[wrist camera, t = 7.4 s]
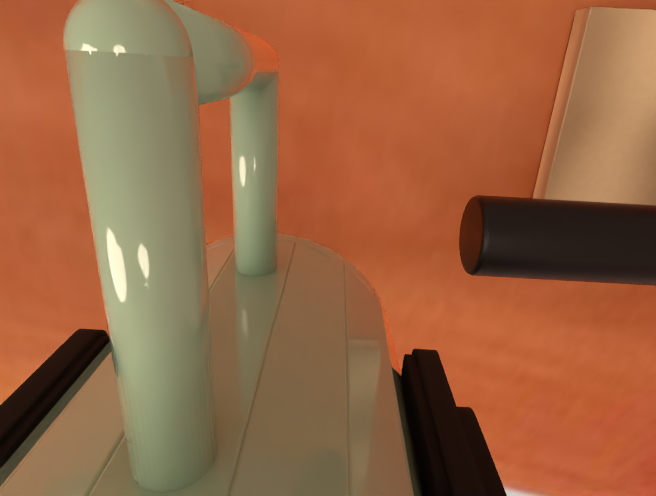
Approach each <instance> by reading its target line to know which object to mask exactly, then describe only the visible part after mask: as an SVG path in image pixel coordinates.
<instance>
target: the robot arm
mask: <svg viewBox="0 0 656 496" xmlns="http://www.w3.org/2000/svg"><path fill="white" fill-rule="evenodd" d="M108 343H109V336H108V335H107V333H106V331H104V330H93V329H79V330H77V331H76V332H75V333H74V334H73V335H72V336H71V337H70V338H69V339H68V340H67V341H66V342H65V343H64V344H62V345H61V346H60V347H59V348H58V349H57V350H56V351H55V352H54V353H53V354H52V355H51V356H50V357H49V358H48V359H47V360H46V361H45V362H44V363H43V364H42V365H41V366H40V367H39V368H38V369H37V370H36V371H35V372H34V373H33V374H32V375H31V376H30V377H29V378H28V379H27V380H26V381H25V382H24V383H23V384H22V385H21V386H20V387H19V388H18V389H17V390H16V391H15V392H14V393H13V394H12V395H11V396H10V397H9V398H8V399H7V400H6V401H4V402H3V403H2V404H1V405H0V469H1V468H2V467H3V466H4V464H5V463H6V462H7V461H8V460H9V458H10V457H11V456H12V455H13V454H14V453H15V451H16V450H17V449H18V448H19V447H20V446H21V444H22V443H23V442H24V441H25V440H26V439H27V437H28V436H29V435H30V434H31V433H32V432H33V430H34V429H35V428H36V427H37V426H38V425H39V423H40V422H41V421H42V420H43V419H44V418H45V416H46V415H47V414H48V413H49V412H50V411H51V409H52V408H53V407H54V406H55V405H56V403H57V402H58V401H59V400H60V399H61V398H62V396H63V395H64V394H65V393H66V392H67V391H68V389H69V388H70V387H71V386H72V385H73V384H74V382H75V381H76V380H77V379H78V378H79V377H80V375H81V374H82V373H83V372H84V371H85V370H86V368H87V367H88V366H89V365H90V364H91V363H92V361H93V360H94V359H95V358H96V357H97V356H98V354H99V353H100V352H101V351H102V350H103V348H104V347H105V346H106V345H107V344H108ZM401 378H402V383H403V388H404V393H405V398H406V403H407V408H408V413H409V418H410V423H411V428H412V433H413V438H414V443H415V448H416V453H417V458H418V464H419V469H420V474H421V479H422V484H423V489H424V494H425V496H507V495H506V493H505V490H504V488H503V485H502V482H501V480H500V477H499V475H498V472H497V470H496V467H495V464H494V462H493V459H492V457H491V454H490V452H489V449H488V447H487V444H486V441H485V439H484V436H483V434H482V431H481V429H480V426H479V423H478V421H477V418H476V416H475V414H474V412H473V410H472V409H471V408H470V407H456V404H455V401H454V398H453V395H452V392H451V389H450V386H449V384H448V381H447V378H446V375H445V372H444V369H443V366H442V363H441V360H440V357H439V354H438V352H437V351H436V350H424V349H413V351H412V355H409V354H405V356H404V360H403V367H402V374H401Z"/></svg>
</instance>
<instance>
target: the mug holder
mask: <svg viewBox="0 0 656 496" xmlns="http://www.w3.org/2000/svg"><path fill="white" fill-rule="evenodd" d="M459 247H460V256H461V261H462V265H463V267H464V269H465V271H466V272H467V273H468V274H470V275H475V276H493V277H511V278H529V279H547V280H565V281H583V282H601V283H619V284H637V285H655V286H656V10H653V9H634V8H615V7H596V6H591V7H587V8H583V9H579V10H576V13H575V17H574V21H573V25H572V30H571V34H570V38H569V43H568V47H567V51H566V56H565V60H564V64H563V69H562V73H561V77H560V81H559V86H558V90H557V94H556V99H555V103H554V107H553V112H552V116H551V120H550V125H549V129H548V133H547V137H546V142H545V146H544V150H543V155H542V159H541V163H540V168H539V172H538V176H537V181H536V185H535V189H534V193H533V198H517V197H499V196H480V195H478V196H475V197H472V198H471V199H470V200H469V202H468V203H467V205H466V208H465V210H464V213H463V217H462V221H461V227H460V237H459Z"/></svg>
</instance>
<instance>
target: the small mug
mask: <svg viewBox="0 0 656 496" xmlns="http://www.w3.org/2000/svg"><path fill="white" fill-rule="evenodd" d="M63 51H64V58H65V64H66V70H67V76H68V83H69V89H70V95H71V102H72V108H73V114H74V120H75V127H76V133H77V139H78V146H79V152H80V158H81V165H82V171H83V177H84V183H85V190H86V196H87V202H88V209H89V215H90V221H91V227H92V234H93V240H94V246H95V253H96V259H97V265H98V272H99V278H100V284H101V290H102V297H103V303H104V309H105V316H106V322H107V328H108V334H109V343H108V344H107V345H106V346H105V347H104V348H103V350H102V351H101V352H100V353H99V354H98V356H97V357H96V358H95V359H94V360H93V361H92V363H91V364H90V365H89V366H88V367H87V368H86V370H85V371H84V372H83V373H82V374H81V375H80V377H79V378H78V379H77V380H76V381H75V382H74V384H73V385H72V386H71V387H70V388H69V389H68V391H67V392H66V393H65V394H64V395H63V396H62V398H61V399H60V400H59V401H58V402H57V403H56V405H55V406H54V407H53V408H52V409H51V411H50V412H49V413H48V414H47V415H46V416H45V418H44V419H43V420H42V421H41V422H40V423H39V425H38V426H37V427H36V428H35V429H34V430H33V432H32V433H31V434H30V435H29V436H28V437H27V439H26V440H25V441H24V442H23V443H22V444H21V446H20V447H19V448H18V449H17V450H16V451H15V453H14V454H13V455H12V456H11V457H10V458H9V460H8V461H7V462H6V463H5V464H4V466H3V467H2V468H1V469H0V496H425V494H424V489H423V484H422V479H421V474H420V469H419V464H418V458H417V453H416V448H415V443H414V438H413V433H412V428H411V423H410V418H409V413H408V408H407V403H406V398H405V393H404V388H403V383H402V378H401V373H400V368H399V363H398V358H397V353H396V348H395V343H394V339H393V336H392V334H391V331H390V327H389V323H388V319H387V315H386V311H385V309H384V307H383V304H382V302H381V300H380V298H379V296H378V294H377V293H376V291H375V289H374V288H373V286H372V285H371V283H370V282H369V281H368V280H367V279H366V277H365V276H364V275H363V274H362V273H361V272H360V271H359V270H358V269H357V268H356V267H355V266H354V265H353V264H351V263H350V262H349V261H348V260H346V259H345V258H343V257H342V256H341V255H339V254H338V253H336V252H334V251H333V250H331V249H329V248H327V247H325V246H323V245H321V244H319V243H316V242H313V241H311V240H308V239H305V238H301V237H297V236H293V235H289V234H282V233H278V159H279V58H278V55H277V53H276V51H275V49H274V48H273V46H272V45H271V44H270V43H269V42H268V41H266V40H264V39H262V38H260V37H258V36H255V35H253V34H251V33H248V32H246V31H243V30H241V29H239V28H236V27H234V26H232V25H229V24H227V23H224V22H222V21H220V20H217V19H215V18H213V17H210V16H208V15H205V14H203V13H201V12H198V11H196V10H193V9H191V8H189V7H186V6H184V5H182V4H179V3H177V2H174V1H172V0H77V1H76V3H75V4H74V5H73V7H72V8H71V9H70V11H69V13H68V16H67V18H66V21H65V24H64V30H63ZM226 98H230V129H231V163H232V196H233V229H234V235H233V236H229V237H225V238H222V239H219V240H216V241H214V242H212V243H209V244H207V245H206V231H205V213H204V195H203V177H202V159H201V141H200V123H199V105H201V104H205V103H209V102H213V101H218V100H222V99H226Z"/></svg>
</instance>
